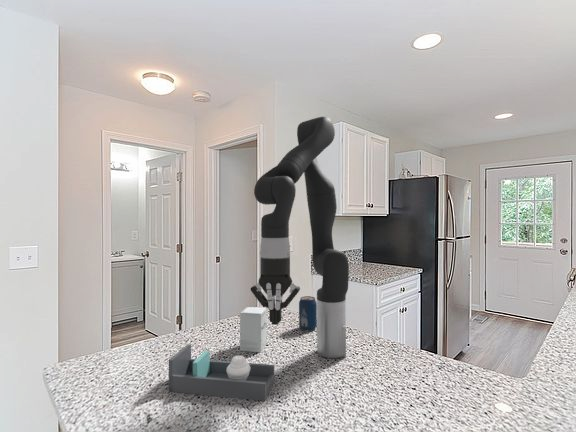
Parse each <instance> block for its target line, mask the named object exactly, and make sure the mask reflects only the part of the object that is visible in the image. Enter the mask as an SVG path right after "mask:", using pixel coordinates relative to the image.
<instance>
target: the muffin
mask: <svg viewBox="0 0 576 432" xmlns="http://www.w3.org/2000/svg"><path fill="white" fill-rule="evenodd" d="M230 362H231V363H230V365H229V366H228V367H227V370H226V371H227V374H228V377H229V379H233V380H244V381H246V379H247V377H248V375H249V372H250V369H251V368H250V365H249V364H248V363H249V362H247V361H246V358H245V357H244V356H243V355H241V354H240V355H235V356H234V357H232V359H231V360H230Z"/></svg>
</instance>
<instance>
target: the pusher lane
mask: <svg viewBox="0 0 576 432" xmlns="http://www.w3.org/2000/svg"><path fill="white" fill-rule="evenodd" d="M196 359H197V358H192V344H190V343H188V344H186V345H185V346H184V347H183V348H182V349H180V350H179V351H178V352H176V353H175V354H174V355H172V356H171V358H169V359H168V392H169V393H170V392H171V393H181V394H191V395H200V396H210V397H211V396H213V397H222V398H231V399H241V400H251V401H252V400H253V401H261V402H262V401H264V402H266V400H267V398H268V395H269V393H270V390H271V388H272V386H273V384H274V382H275V364H266V363H252V362H247V363H248V364H249V365H250V368H251V369H250V372H249V375H248V377H247V379H246V381H244V380H233V379H229V377H228V374H227V371H226V370H227V367H228V366H229V365H230V363H231V362H232V361H227V360H214V359H213V360H212V359H210V373H209V374H208V375H207V376H206V377H198V376H193V362H194V361H195V360H196Z"/></svg>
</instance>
